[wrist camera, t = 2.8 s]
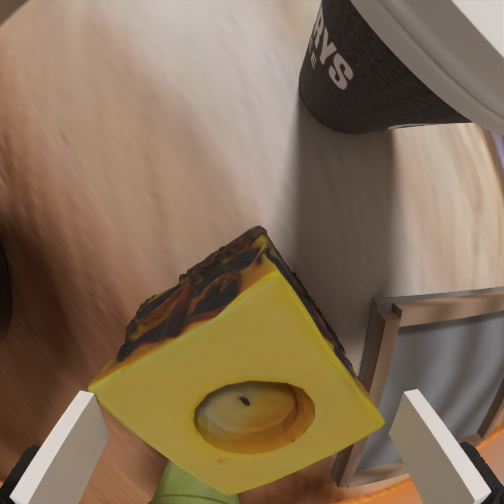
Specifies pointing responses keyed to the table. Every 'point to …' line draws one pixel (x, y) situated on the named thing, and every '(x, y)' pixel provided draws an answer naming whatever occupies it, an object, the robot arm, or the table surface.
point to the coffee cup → (405, 64)
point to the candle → (237, 373)
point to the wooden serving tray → (429, 372)
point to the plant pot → (187, 489)
